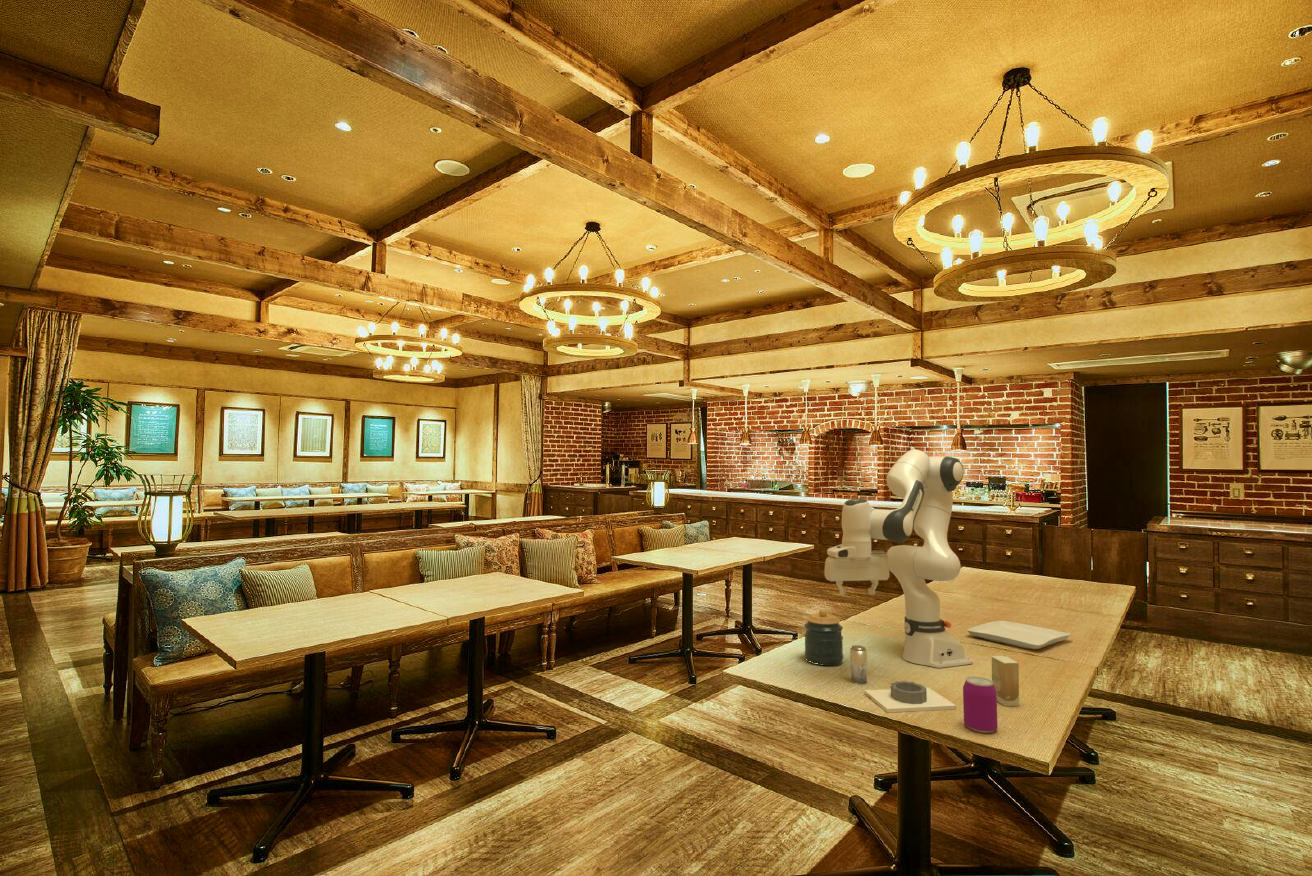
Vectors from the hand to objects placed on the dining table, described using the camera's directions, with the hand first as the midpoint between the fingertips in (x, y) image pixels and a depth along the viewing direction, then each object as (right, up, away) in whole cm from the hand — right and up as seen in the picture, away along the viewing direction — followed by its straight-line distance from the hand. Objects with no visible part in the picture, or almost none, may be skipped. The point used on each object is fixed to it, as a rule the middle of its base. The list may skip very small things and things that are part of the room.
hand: (857, 594), depth 192 cm
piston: (0, -27, -1) cm, 27 cm away
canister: (-5, -28, +19) cm, 34 cm away
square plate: (+77, -30, +45) cm, 94 cm away
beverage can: (+20, -25, -35) cm, 48 cm away
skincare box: (+36, -26, -18) cm, 48 cm away
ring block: (+9, -26, -17) cm, 33 cm away
